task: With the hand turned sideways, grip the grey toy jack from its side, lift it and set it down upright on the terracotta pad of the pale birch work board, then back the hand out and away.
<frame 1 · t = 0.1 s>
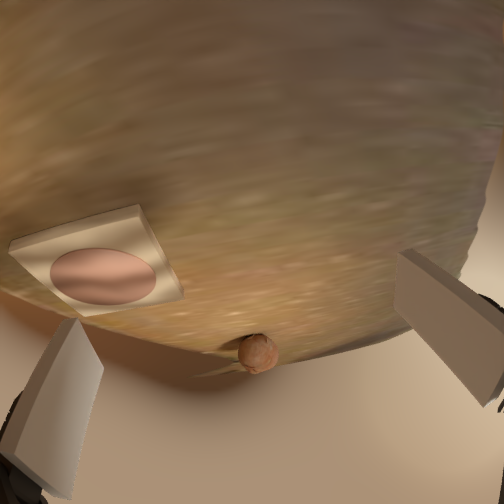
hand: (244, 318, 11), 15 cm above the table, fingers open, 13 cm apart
onion: (254, 335, 67), on the table
work board: (103, 268, 33), on the table
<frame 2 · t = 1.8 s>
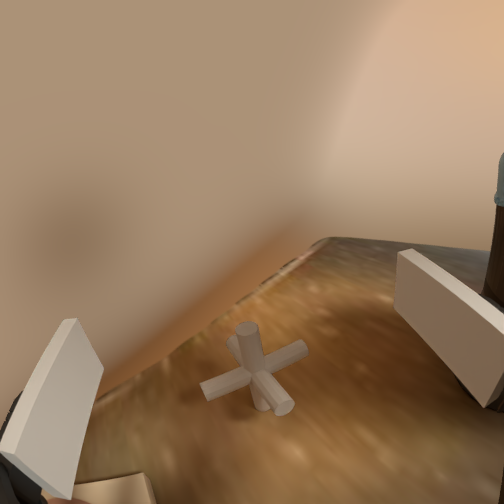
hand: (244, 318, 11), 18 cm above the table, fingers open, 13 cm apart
grey toy jack: (264, 405, 27), on the table
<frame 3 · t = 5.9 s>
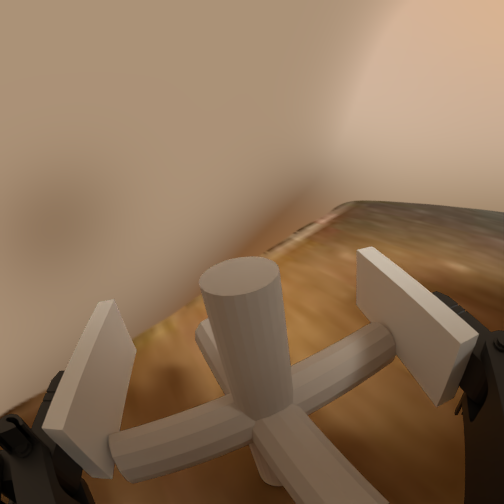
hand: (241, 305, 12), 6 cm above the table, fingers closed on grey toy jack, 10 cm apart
grey toy jack: (280, 471, 11), on the table, touching gripper
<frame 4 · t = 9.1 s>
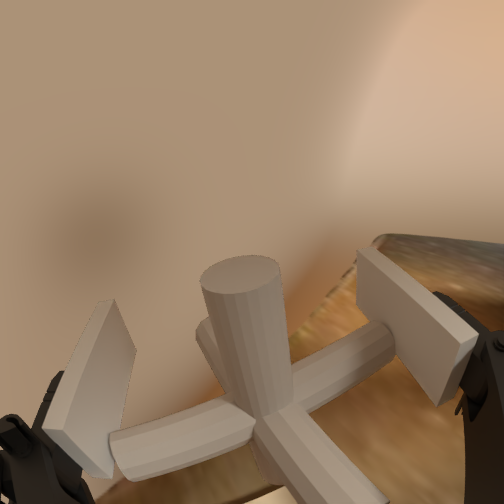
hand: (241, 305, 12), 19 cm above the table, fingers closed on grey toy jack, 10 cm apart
grey toy jack: (280, 470, 11), point 13 cm above the table, touching gripper
when the fingers open (10 cm above the table, at t = 12.1 s): grey toy jack drops 1 cm, resting on work board.
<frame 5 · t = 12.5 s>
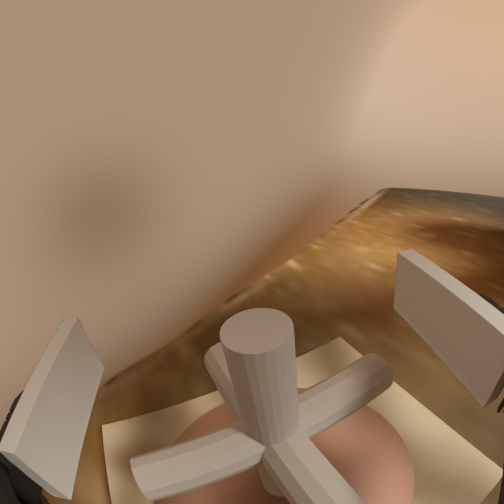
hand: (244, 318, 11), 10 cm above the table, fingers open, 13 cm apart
work board: (284, 491, 12), on the table
grey toy jack: (282, 482, 11), point 2 cm above the table, touching work board
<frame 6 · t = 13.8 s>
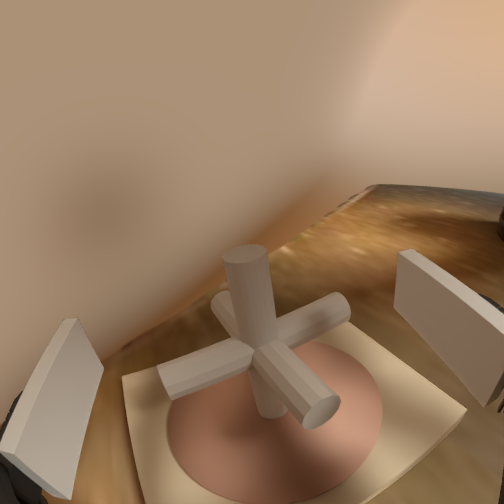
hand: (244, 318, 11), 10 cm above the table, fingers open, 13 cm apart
work board: (275, 422, 17), on the table
grey toy jack: (273, 409, 16), point 2 cm above the table, touching work board
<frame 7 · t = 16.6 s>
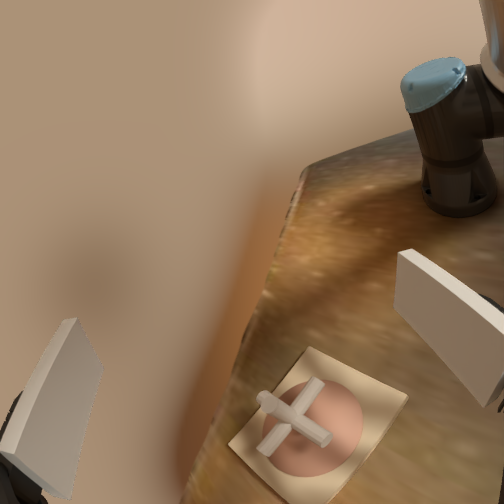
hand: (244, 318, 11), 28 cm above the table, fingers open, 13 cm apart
work board: (315, 430, 32), on the table
grey toy jack: (310, 427, 31), point 2 cm above the table, touching work board
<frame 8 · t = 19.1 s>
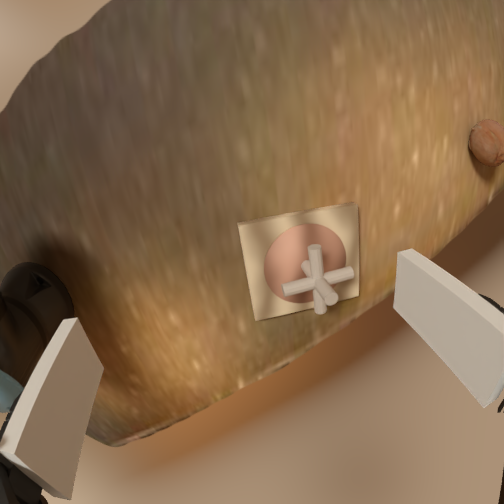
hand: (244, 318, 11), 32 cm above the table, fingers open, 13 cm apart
onion: (474, 140, 43), on the table
work board: (303, 261, 47), on the table
grey toy jack: (306, 265, 45), point 2 cm above the table, touching work board
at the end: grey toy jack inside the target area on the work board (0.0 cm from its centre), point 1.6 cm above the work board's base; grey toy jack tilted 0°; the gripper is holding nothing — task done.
